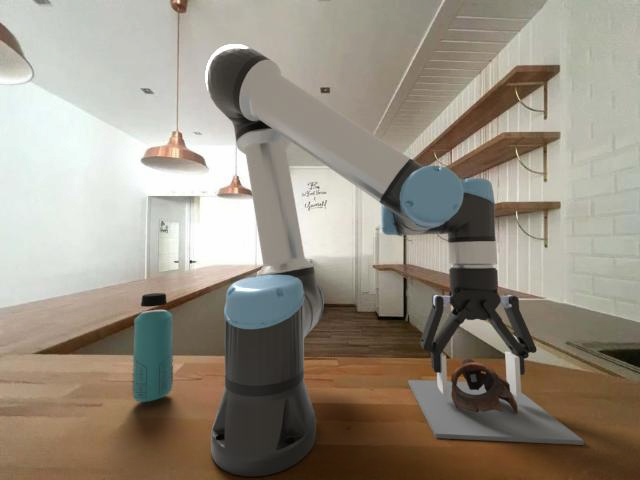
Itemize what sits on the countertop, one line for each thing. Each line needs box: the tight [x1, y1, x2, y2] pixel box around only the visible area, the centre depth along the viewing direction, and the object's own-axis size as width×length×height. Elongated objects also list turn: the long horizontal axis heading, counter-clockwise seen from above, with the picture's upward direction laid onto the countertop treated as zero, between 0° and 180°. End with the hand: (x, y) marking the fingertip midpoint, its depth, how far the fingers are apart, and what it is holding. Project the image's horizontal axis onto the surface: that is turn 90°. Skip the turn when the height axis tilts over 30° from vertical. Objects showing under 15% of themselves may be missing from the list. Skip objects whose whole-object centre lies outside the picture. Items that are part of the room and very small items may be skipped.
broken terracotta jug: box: [450, 357, 518, 414], centre depth 47 cm, size 12×10×8 cm
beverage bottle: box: [131, 292, 174, 403], centre depth 51 cm, size 6×7×20 cm
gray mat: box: [407, 379, 585, 446], centre depth 47 cm, size 20×17×1 cm
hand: (477, 391), depth 47 cm, fingers open, 11 cm apart
